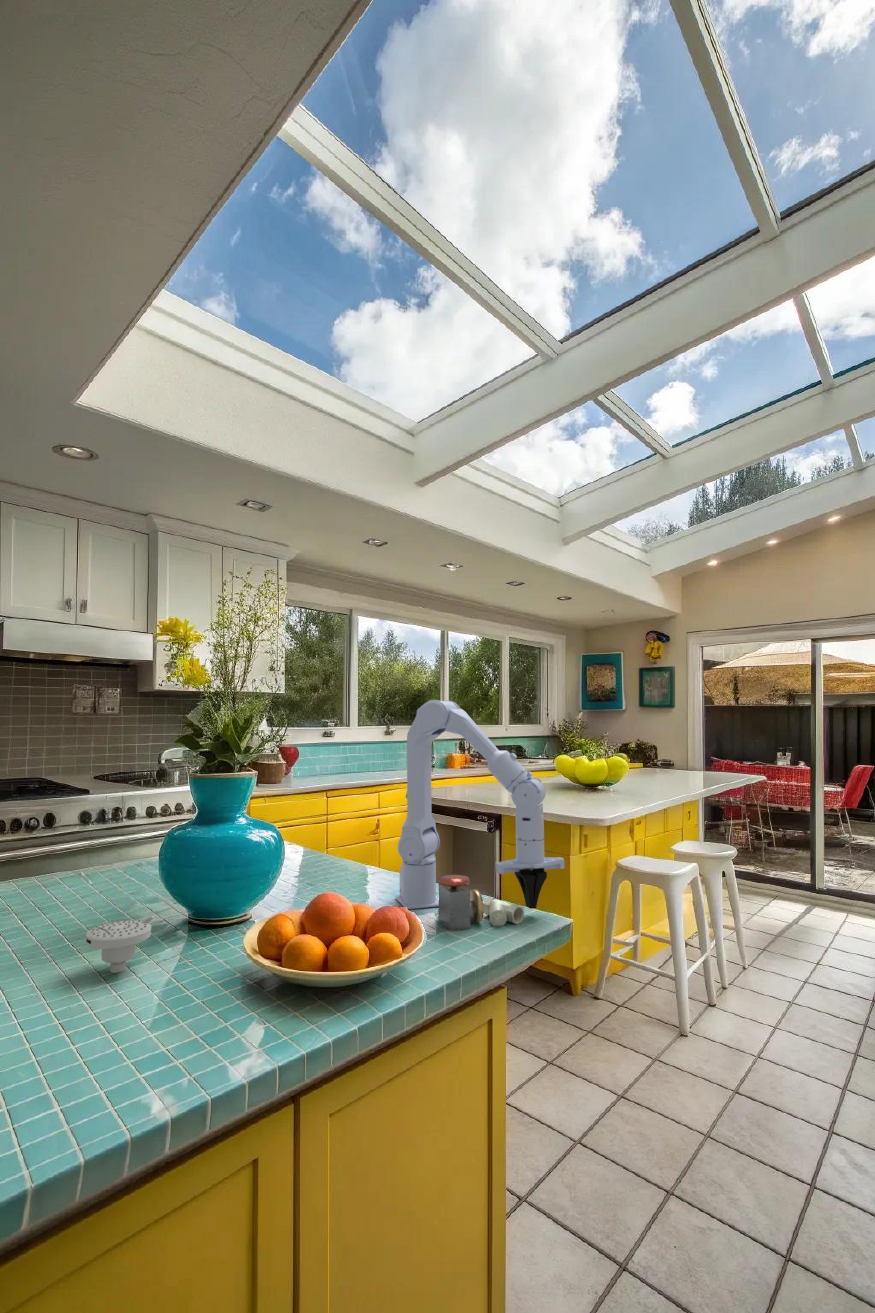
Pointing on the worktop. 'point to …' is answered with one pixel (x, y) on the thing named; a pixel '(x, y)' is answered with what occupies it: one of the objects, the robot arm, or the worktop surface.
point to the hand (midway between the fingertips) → (531, 907)
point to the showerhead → (118, 940)
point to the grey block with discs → (458, 903)
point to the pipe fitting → (502, 912)
